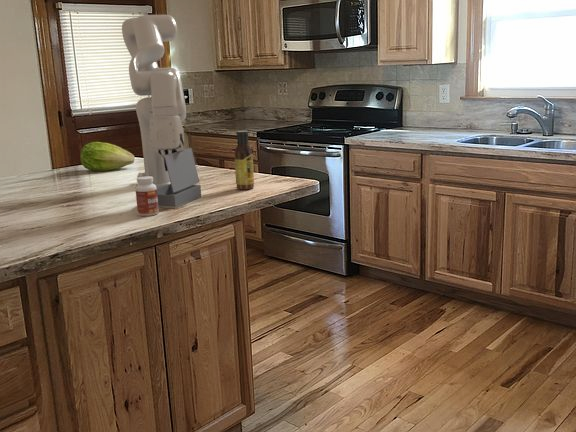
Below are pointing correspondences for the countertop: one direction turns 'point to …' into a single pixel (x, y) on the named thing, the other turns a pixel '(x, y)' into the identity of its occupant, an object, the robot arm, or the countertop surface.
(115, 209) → the countertop surface
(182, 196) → the box
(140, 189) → the pill bottle
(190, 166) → the lid
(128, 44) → the robot arm
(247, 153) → the sauce bottle
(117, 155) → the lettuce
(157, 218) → the countertop surface
